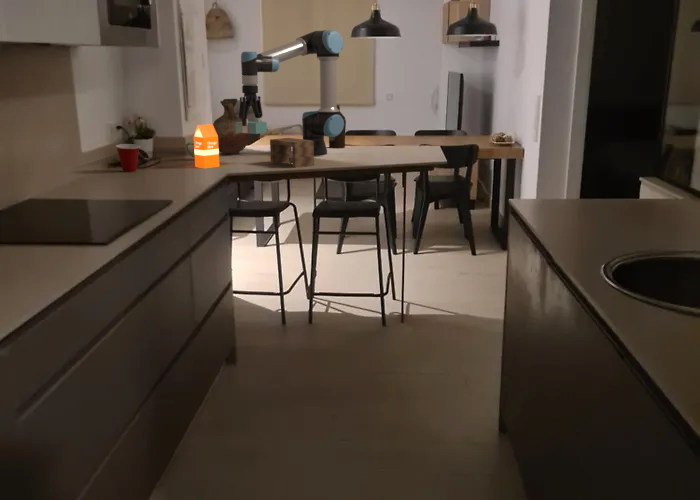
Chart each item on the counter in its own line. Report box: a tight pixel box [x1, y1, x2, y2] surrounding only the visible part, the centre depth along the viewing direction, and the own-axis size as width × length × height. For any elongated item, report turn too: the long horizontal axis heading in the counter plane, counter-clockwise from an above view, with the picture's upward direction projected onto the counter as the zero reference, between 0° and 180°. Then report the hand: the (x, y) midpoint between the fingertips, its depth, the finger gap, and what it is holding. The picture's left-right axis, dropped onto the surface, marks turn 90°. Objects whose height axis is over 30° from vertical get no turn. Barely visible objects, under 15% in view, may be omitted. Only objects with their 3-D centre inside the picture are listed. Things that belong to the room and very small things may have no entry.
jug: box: [213, 98, 251, 156], centre depth 373 cm, size 22×22×30 cm
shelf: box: [269, 137, 315, 168], centre depth 336 cm, size 12×19×12 cm, turn 44°
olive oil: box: [328, 104, 347, 149], centre depth 406 cm, size 11×11×25 cm
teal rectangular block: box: [236, 120, 268, 135], centre depth 335 cm, size 12×9×5 cm
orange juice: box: [193, 123, 220, 169], centre depth 328 cm, size 8×9×20 cm
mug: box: [184, 141, 195, 159], centre depth 352 cm, size 15×10×10 cm
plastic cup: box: [115, 143, 141, 173], centre depth 315 cm, size 11×11×12 cm
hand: (251, 132), depth 336 cm, fingers closed on teal rectangular block, 9 cm apart
